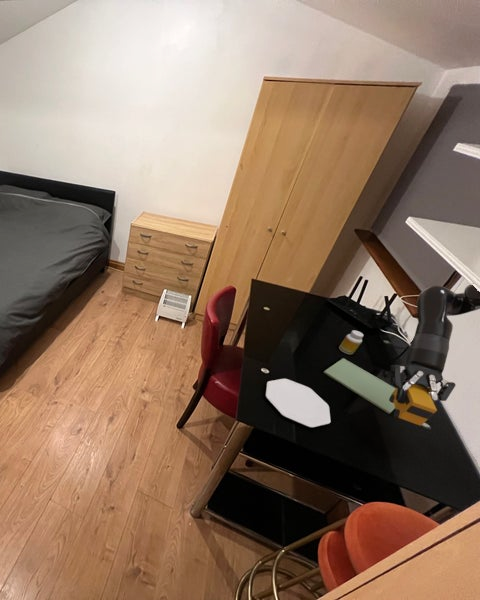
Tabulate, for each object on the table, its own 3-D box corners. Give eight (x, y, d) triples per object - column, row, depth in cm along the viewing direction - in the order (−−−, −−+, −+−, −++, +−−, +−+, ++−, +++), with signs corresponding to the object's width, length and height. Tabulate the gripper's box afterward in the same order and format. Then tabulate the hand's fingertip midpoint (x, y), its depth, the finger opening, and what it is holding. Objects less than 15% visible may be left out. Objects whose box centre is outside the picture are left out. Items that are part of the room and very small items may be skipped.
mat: (406, 396, 119) (407, 395, 119) (389, 414, 112) (390, 412, 111) (342, 359, 134) (343, 358, 134) (323, 372, 127) (324, 371, 127)
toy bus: (387, 396, 100) (403, 378, 95) (409, 404, 98) (426, 386, 93) (395, 421, 92) (413, 402, 88) (418, 429, 90) (438, 411, 86)
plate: (326, 397, 116) (328, 394, 115) (330, 438, 102) (332, 436, 101) (266, 374, 124) (268, 371, 123) (262, 410, 109) (264, 407, 108)
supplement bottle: (351, 356, 136) (364, 339, 131) (337, 349, 140) (348, 332, 134) (354, 351, 139) (367, 334, 134) (340, 344, 143) (352, 327, 137)
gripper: (405, 341, 93) (389, 396, 91) (471, 360, 87) (456, 420, 85) (390, 344, 100) (375, 396, 97) (450, 362, 94) (436, 418, 92)
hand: (413, 407), depth 91 cm, fingers closed on toy bus, 5 cm apart
